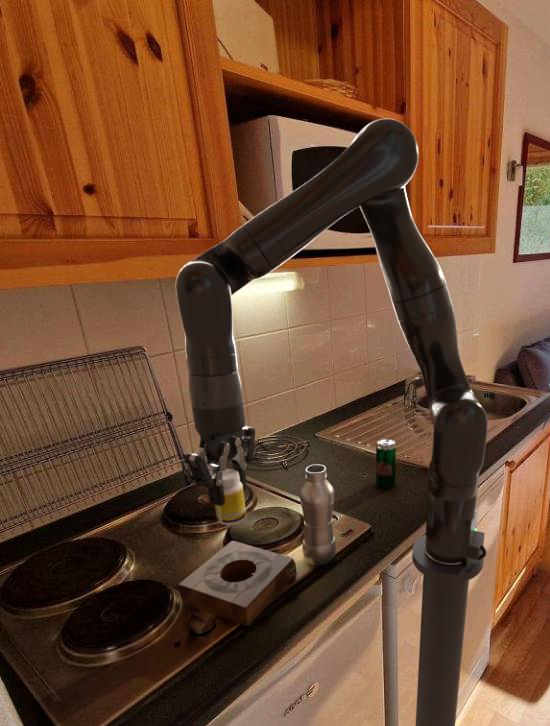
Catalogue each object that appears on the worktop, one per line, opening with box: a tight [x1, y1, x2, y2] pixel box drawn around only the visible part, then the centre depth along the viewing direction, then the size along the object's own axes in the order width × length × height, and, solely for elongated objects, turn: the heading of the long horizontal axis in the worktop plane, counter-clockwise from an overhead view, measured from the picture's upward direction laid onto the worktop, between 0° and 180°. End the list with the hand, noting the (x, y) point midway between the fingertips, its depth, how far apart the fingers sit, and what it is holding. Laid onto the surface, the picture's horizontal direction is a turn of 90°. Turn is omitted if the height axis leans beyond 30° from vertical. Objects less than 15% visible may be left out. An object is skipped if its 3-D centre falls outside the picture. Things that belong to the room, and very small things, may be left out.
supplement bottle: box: [212, 468, 247, 526], centre depth 80 cm, size 5×5×8 cm
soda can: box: [375, 438, 397, 490], centre depth 121 cm, size 5×5×12 cm
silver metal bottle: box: [299, 463, 337, 566], centre depth 91 cm, size 6×7×20 cm
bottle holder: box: [178, 540, 295, 627], centre depth 86 cm, size 14×14×4 cm
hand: (229, 496), depth 79 cm, fingers closed on supplement bottle, 4 cm apart
